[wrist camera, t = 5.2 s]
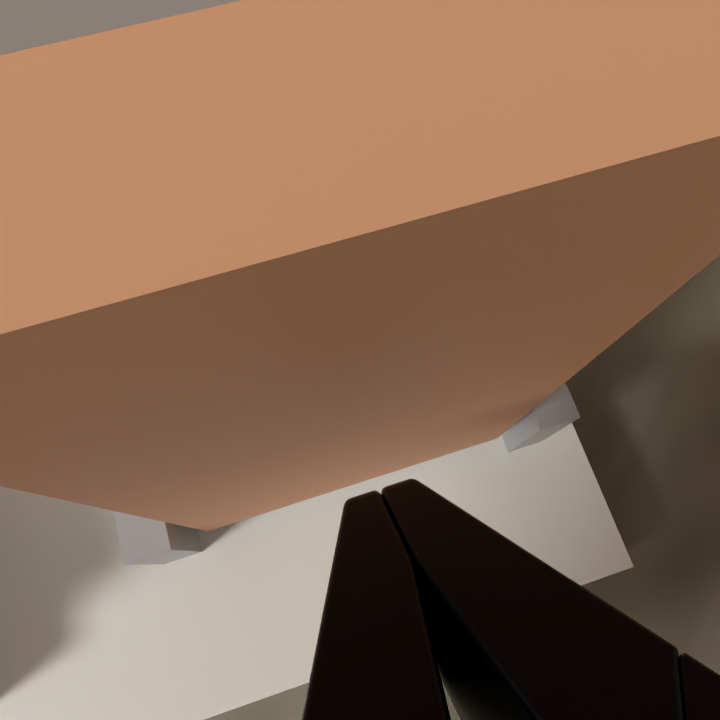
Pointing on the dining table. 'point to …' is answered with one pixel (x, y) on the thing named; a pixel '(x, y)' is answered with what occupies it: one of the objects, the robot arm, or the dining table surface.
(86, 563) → the switch console
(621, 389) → the dining table surface
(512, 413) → the paddle
